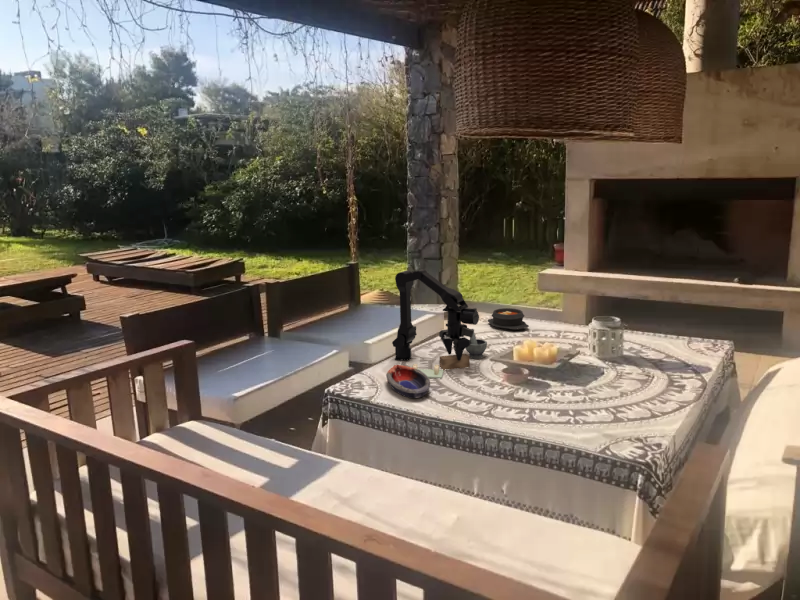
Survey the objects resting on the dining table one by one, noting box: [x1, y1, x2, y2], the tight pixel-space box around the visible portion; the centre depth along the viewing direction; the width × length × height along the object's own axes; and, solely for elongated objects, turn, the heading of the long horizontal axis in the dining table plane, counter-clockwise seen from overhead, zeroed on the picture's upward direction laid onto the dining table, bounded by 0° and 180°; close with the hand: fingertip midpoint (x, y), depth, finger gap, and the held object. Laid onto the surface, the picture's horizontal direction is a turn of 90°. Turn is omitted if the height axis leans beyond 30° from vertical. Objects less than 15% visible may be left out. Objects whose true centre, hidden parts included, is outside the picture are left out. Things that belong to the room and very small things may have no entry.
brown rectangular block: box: [438, 353, 471, 371], centre depth 276 cm, size 12×4×5 cm, turn 105°
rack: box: [411, 363, 445, 380], centre depth 267 cm, size 14×9×4 cm, turn 81°
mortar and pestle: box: [464, 328, 488, 360], centre depth 289 cm, size 11×9×12 cm
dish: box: [385, 364, 431, 399], centre depth 253 cm, size 16×31×5 cm, turn 14°
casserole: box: [487, 307, 530, 331], centre depth 339 cm, size 25×19×8 cm
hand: (454, 357), depth 276 cm, fingers open, 9 cm apart
